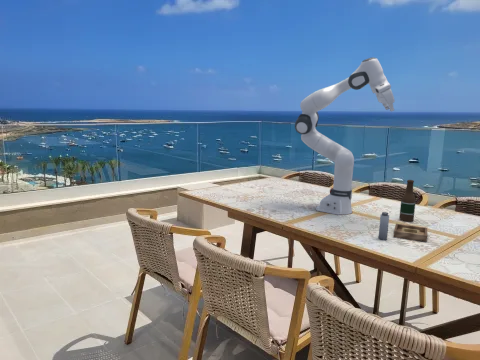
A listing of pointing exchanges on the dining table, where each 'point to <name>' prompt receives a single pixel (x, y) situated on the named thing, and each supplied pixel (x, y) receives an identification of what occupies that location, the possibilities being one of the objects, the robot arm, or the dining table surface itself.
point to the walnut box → (410, 232)
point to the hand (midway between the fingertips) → (390, 110)
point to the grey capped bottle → (383, 226)
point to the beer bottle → (408, 203)
